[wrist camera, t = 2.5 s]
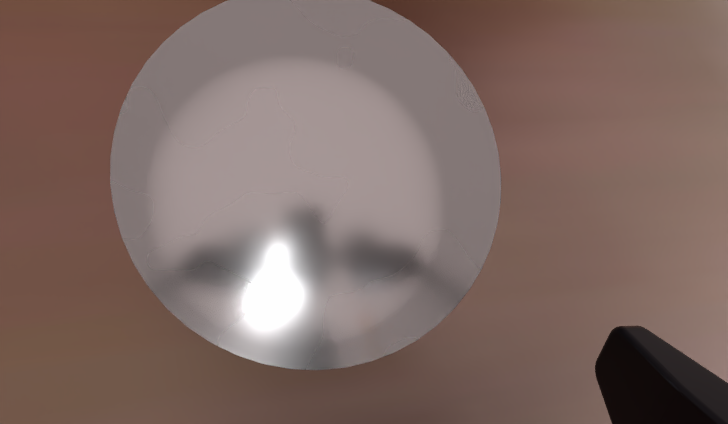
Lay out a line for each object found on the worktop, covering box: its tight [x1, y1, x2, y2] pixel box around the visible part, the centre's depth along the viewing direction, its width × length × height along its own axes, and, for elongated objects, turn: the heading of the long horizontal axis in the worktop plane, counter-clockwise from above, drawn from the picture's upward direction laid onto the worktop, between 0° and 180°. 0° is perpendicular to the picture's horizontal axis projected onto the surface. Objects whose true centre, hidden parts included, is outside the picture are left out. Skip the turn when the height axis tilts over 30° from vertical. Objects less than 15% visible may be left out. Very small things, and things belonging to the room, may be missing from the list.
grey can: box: [110, 0, 501, 370], centre depth 15 cm, size 6×6×12 cm
